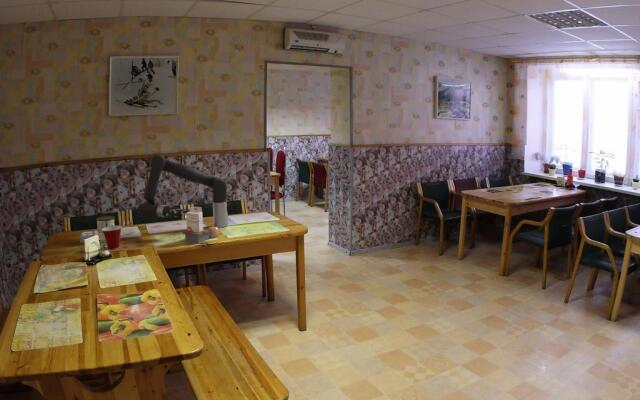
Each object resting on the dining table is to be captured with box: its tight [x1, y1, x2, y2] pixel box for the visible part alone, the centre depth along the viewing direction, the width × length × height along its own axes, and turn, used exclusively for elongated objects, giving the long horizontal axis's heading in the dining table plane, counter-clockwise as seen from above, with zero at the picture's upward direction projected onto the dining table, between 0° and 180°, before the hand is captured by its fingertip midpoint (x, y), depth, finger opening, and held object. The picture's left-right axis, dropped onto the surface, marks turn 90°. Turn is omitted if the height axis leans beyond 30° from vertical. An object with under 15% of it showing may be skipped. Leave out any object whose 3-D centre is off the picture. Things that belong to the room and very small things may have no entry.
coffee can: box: [95, 215, 116, 243], centre depth 284 cm, size 10×10×14 cm
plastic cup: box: [102, 225, 122, 250], centre depth 267 cm, size 11×11×12 cm
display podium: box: [182, 228, 211, 244], centre depth 284 cm, size 12×12×6 cm
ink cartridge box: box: [185, 206, 204, 232], centre depth 281 cm, size 9×5×15 cm, turn 76°
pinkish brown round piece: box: [207, 226, 220, 239], centre depth 292 cm, size 6×6×6 cm
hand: (186, 213), depth 285 cm, fingers open, 8 cm apart
